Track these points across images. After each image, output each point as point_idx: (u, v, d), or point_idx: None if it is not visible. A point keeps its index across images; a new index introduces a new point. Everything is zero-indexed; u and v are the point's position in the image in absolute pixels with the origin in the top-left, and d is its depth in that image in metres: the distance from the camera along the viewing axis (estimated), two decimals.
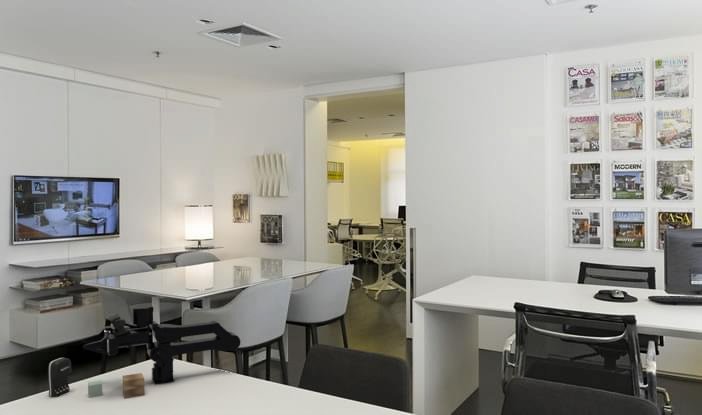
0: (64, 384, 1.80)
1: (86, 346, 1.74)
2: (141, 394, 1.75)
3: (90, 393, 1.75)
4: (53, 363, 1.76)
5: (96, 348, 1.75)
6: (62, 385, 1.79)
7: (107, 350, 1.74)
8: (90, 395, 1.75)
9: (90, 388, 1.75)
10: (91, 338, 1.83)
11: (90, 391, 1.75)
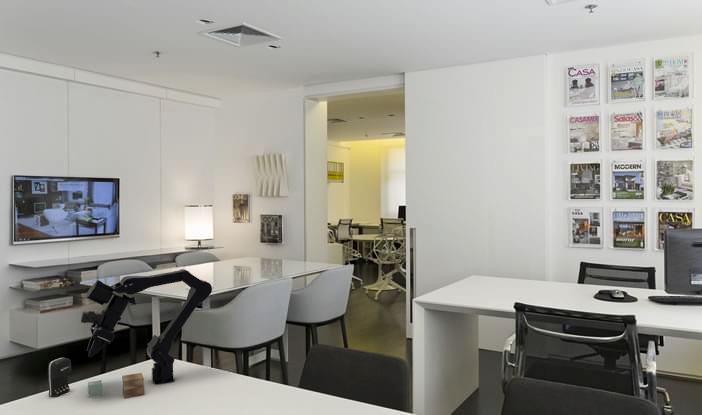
0: (64, 384, 1.80)
1: (90, 354, 1.73)
2: (141, 394, 1.75)
3: (90, 393, 1.75)
4: (53, 363, 1.76)
5: (98, 347, 1.73)
6: (62, 385, 1.79)
7: (106, 340, 1.72)
8: (90, 395, 1.75)
9: (90, 388, 1.75)
10: (91, 343, 1.82)
11: (90, 391, 1.75)
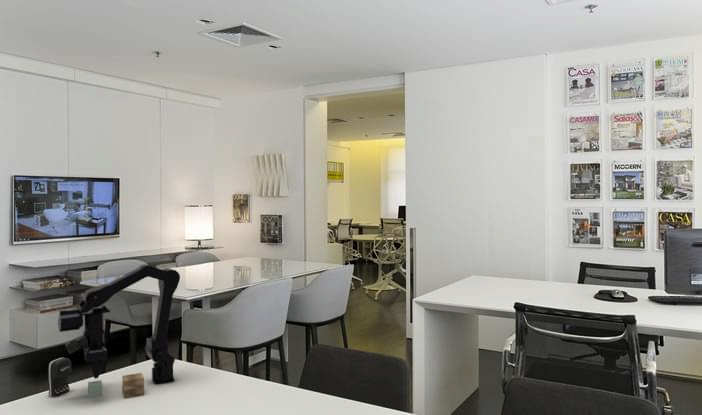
0: (64, 384, 1.80)
1: (95, 375, 1.73)
2: (141, 394, 1.75)
3: (90, 393, 1.75)
4: (53, 363, 1.76)
5: (98, 367, 1.72)
6: (62, 385, 1.79)
7: None
8: (90, 395, 1.75)
9: (90, 388, 1.75)
10: None
11: (90, 391, 1.75)
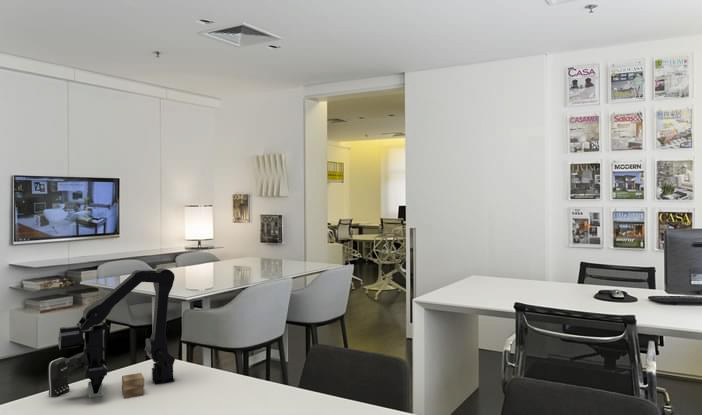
0: (64, 384, 1.80)
1: (95, 391, 1.75)
2: (140, 394, 1.75)
3: (90, 393, 1.75)
4: (53, 363, 1.76)
5: (98, 382, 1.74)
6: (62, 385, 1.79)
7: None
8: (90, 395, 1.75)
9: (90, 388, 1.75)
10: None
11: (90, 391, 1.75)
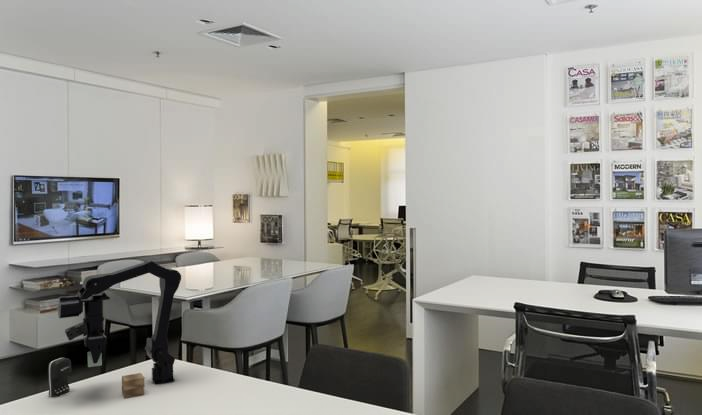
0: (64, 384, 1.80)
1: (94, 360, 1.75)
2: (141, 394, 1.76)
3: (90, 362, 1.75)
4: (53, 363, 1.76)
5: (97, 352, 1.74)
6: (62, 385, 1.79)
7: None
8: (90, 364, 1.75)
9: (90, 357, 1.75)
10: None
11: (90, 360, 1.75)
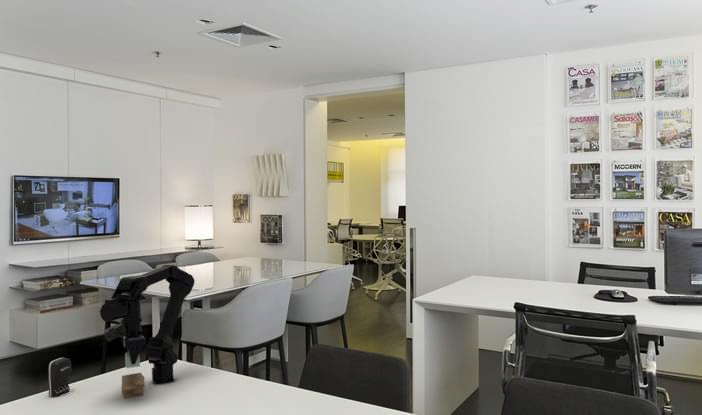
0: (64, 384, 1.80)
1: (133, 361, 1.75)
2: (140, 394, 1.76)
3: (128, 363, 1.75)
4: (53, 363, 1.76)
5: (136, 353, 1.74)
6: (62, 385, 1.79)
7: None
8: (128, 365, 1.75)
9: (128, 358, 1.75)
10: None
11: (128, 361, 1.75)
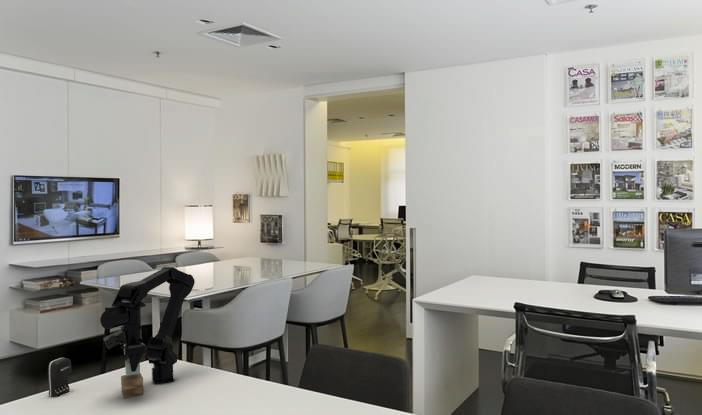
0: (64, 384, 1.80)
1: (133, 369, 1.75)
2: (140, 394, 1.75)
3: (128, 371, 1.75)
4: (53, 363, 1.76)
5: (136, 360, 1.74)
6: (62, 385, 1.79)
7: None
8: (128, 373, 1.75)
9: (128, 366, 1.75)
10: None
11: (128, 369, 1.75)
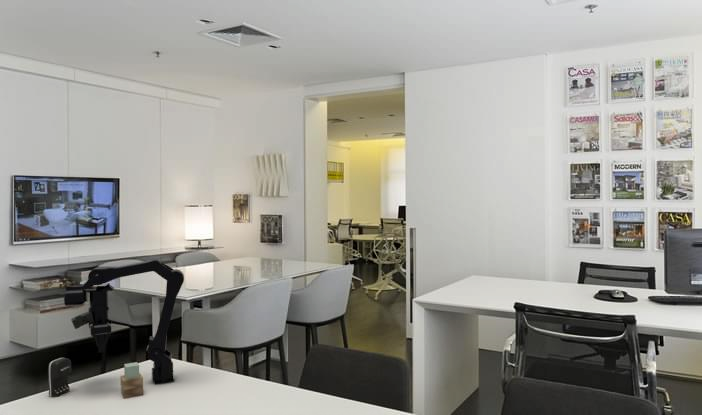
0: (64, 384, 1.80)
1: (100, 350, 1.80)
2: (140, 394, 1.75)
3: (127, 375, 1.74)
4: (53, 363, 1.76)
5: (103, 341, 1.79)
6: (62, 385, 1.79)
7: (105, 333, 1.78)
8: (127, 377, 1.74)
9: (127, 370, 1.74)
10: None
11: (127, 373, 1.74)
